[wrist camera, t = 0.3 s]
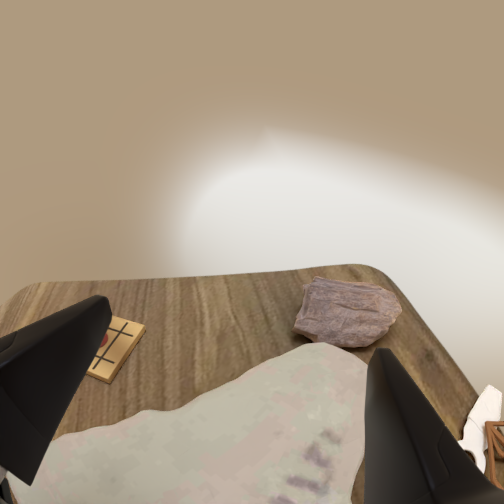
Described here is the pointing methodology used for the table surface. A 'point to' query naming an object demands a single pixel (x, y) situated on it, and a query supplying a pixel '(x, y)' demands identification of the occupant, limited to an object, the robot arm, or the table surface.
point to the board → (115, 348)
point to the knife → (481, 424)
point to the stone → (224, 442)
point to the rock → (345, 312)
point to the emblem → (491, 435)
